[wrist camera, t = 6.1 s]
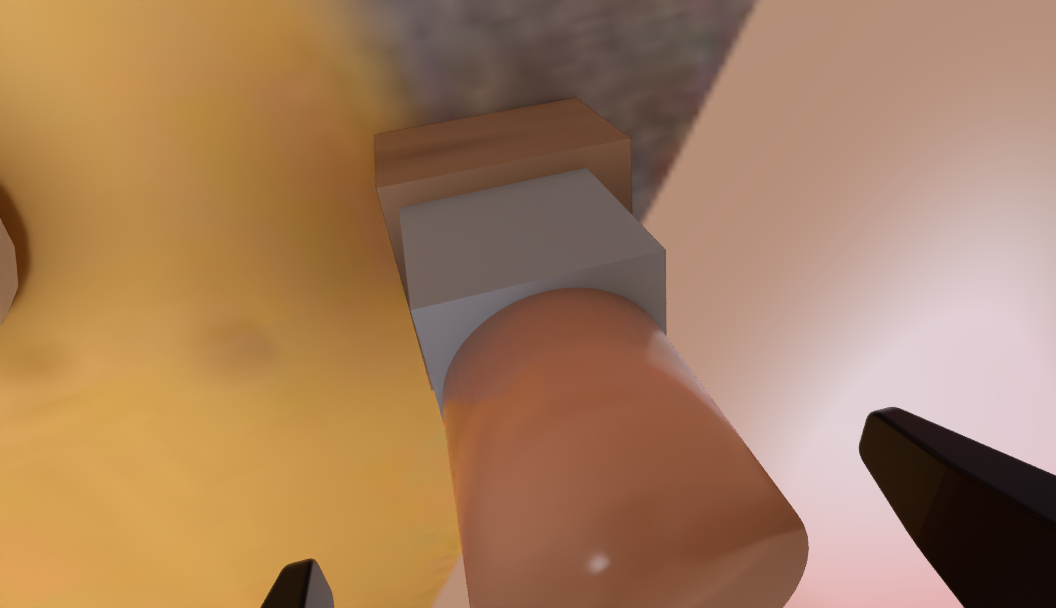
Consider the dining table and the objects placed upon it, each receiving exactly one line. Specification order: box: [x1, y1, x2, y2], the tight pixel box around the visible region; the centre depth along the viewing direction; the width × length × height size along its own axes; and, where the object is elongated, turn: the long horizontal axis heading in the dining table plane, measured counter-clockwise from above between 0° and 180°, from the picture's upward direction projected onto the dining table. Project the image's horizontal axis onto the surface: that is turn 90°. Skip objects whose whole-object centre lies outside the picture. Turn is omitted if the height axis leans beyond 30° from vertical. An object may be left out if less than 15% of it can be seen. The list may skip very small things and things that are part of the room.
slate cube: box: [399, 168, 666, 422], centre depth 13 cm, size 4×4×4 cm
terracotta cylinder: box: [442, 288, 809, 608], centre depth 10 cm, size 4×4×4 cm
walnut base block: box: [374, 97, 632, 390], centre depth 17 cm, size 6×6×4 cm
